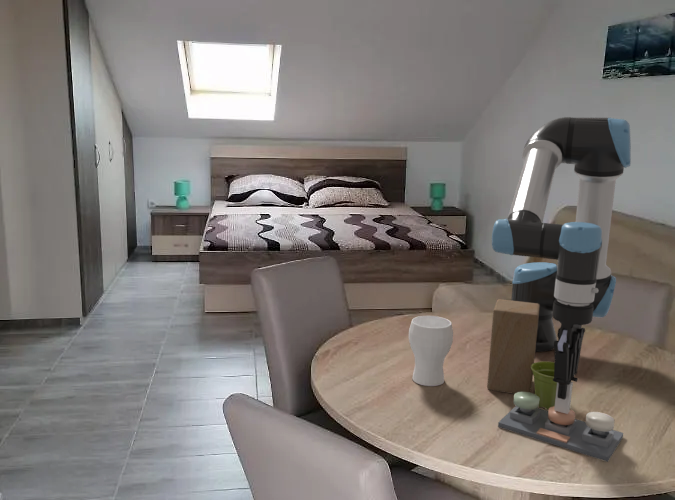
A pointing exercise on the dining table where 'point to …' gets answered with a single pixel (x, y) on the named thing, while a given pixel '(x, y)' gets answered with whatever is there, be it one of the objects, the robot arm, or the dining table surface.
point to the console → (562, 433)
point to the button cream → (599, 422)
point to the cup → (430, 348)
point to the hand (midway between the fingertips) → (561, 410)
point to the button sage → (526, 401)
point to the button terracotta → (561, 417)
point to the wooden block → (512, 346)
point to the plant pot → (544, 383)
